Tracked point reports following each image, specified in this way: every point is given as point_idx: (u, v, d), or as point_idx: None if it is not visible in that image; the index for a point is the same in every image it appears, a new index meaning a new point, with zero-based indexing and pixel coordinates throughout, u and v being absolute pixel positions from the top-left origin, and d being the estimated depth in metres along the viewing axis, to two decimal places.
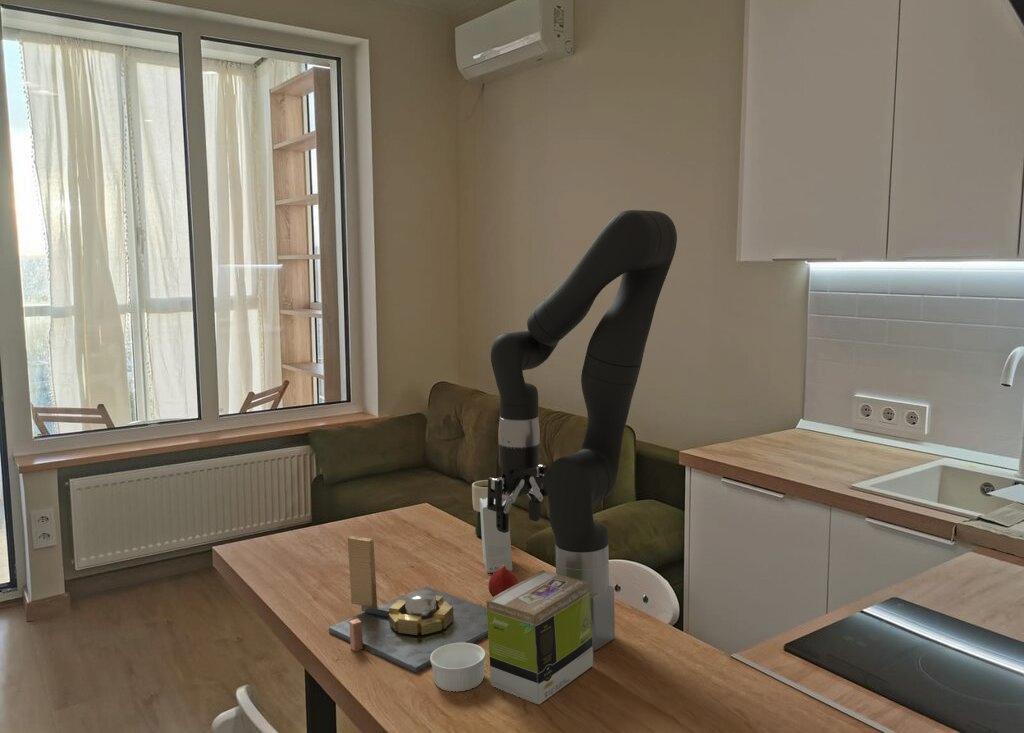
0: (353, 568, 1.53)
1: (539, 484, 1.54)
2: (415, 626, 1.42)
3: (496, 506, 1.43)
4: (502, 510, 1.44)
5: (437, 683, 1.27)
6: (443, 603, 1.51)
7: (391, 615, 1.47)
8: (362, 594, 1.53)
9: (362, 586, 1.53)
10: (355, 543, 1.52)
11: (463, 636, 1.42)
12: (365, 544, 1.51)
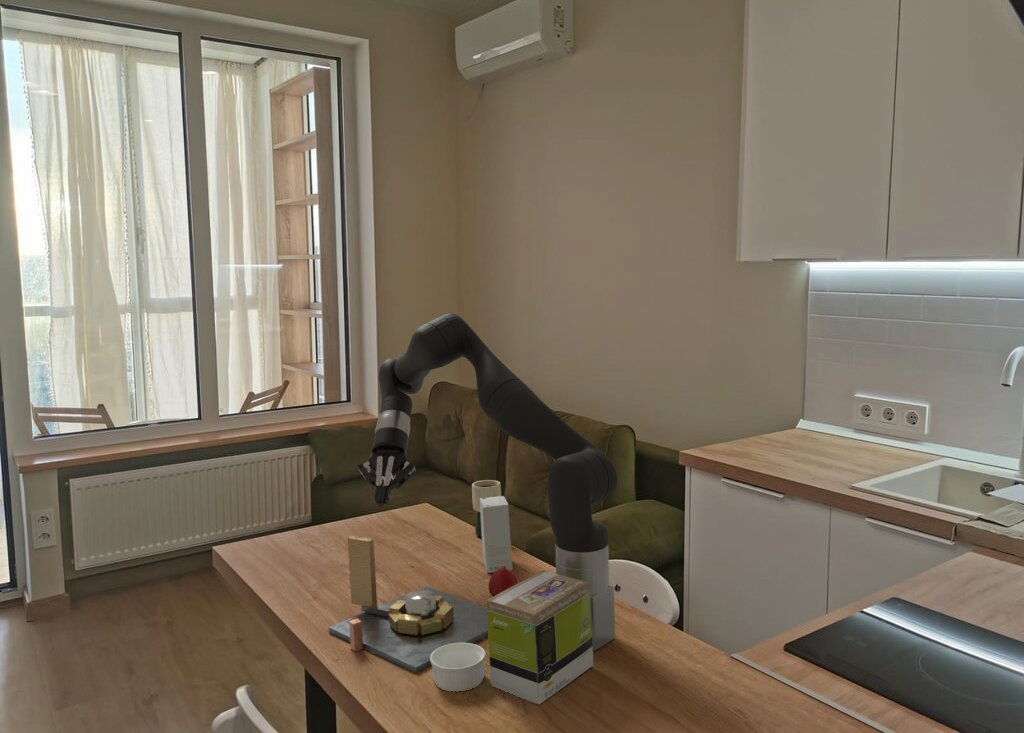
0: (353, 568, 1.53)
1: None
2: (415, 626, 1.42)
3: None
4: None
5: (437, 683, 1.27)
6: (443, 603, 1.51)
7: (391, 615, 1.47)
8: (362, 594, 1.53)
9: (362, 586, 1.53)
10: (355, 543, 1.52)
11: (463, 636, 1.42)
12: (365, 544, 1.51)
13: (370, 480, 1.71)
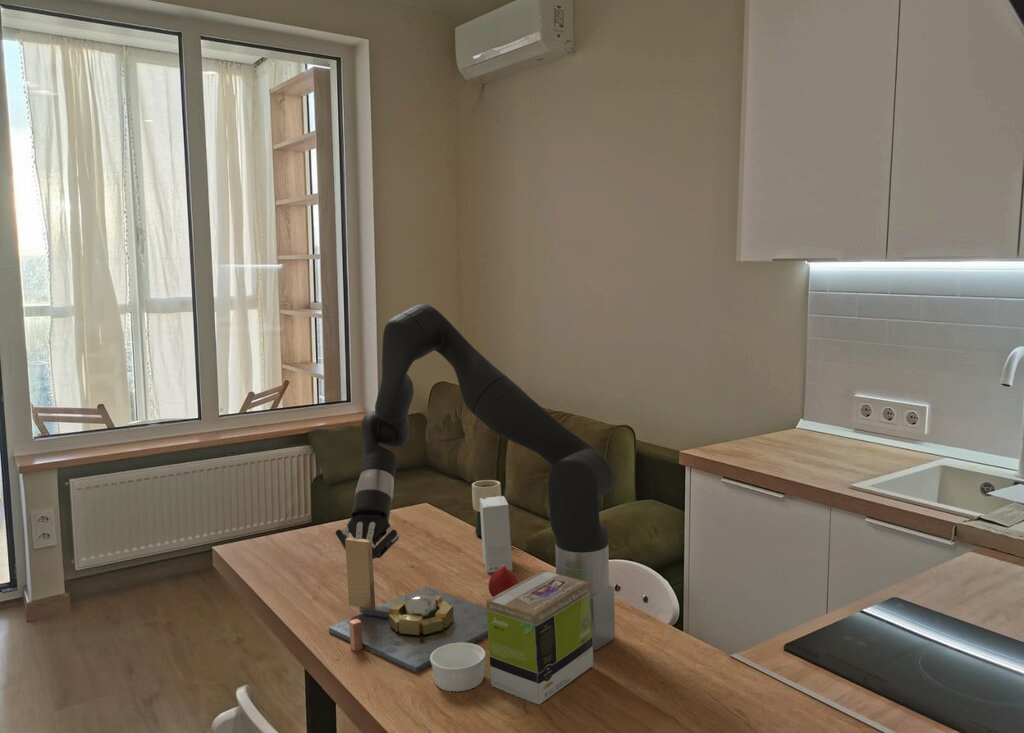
0: (351, 569, 1.53)
1: None
2: (417, 626, 1.42)
3: None
4: (372, 557, 1.58)
5: (437, 683, 1.27)
6: (442, 602, 1.51)
7: (391, 616, 1.46)
8: (360, 595, 1.52)
9: (360, 587, 1.52)
10: (353, 544, 1.52)
11: (463, 636, 1.42)
12: (363, 545, 1.51)
13: None
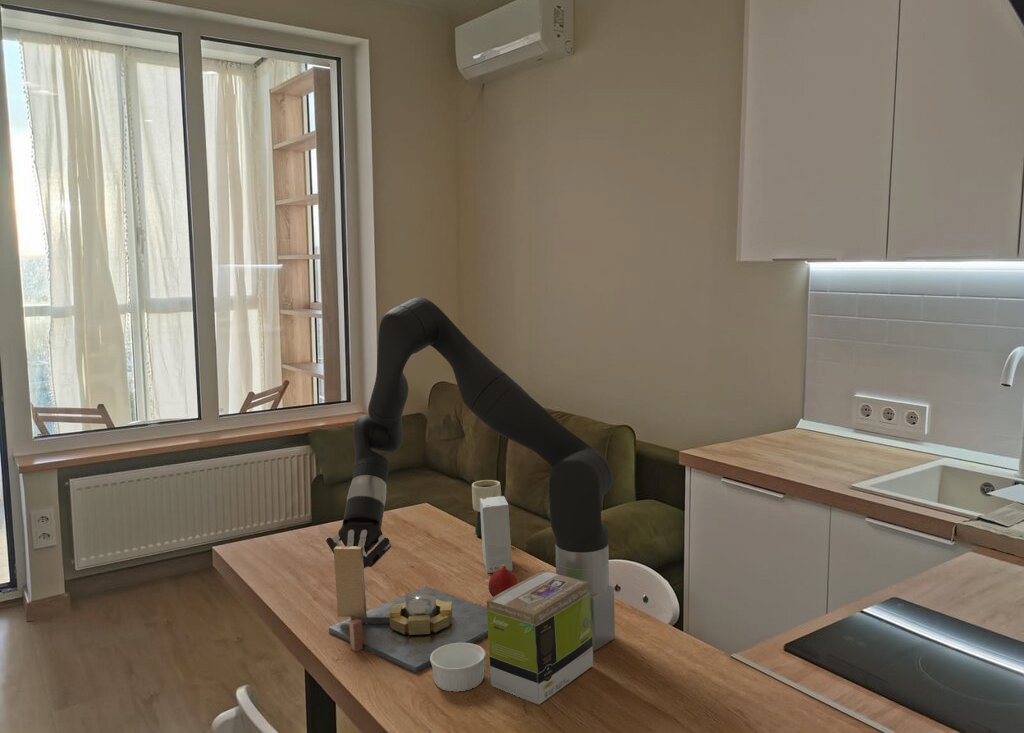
0: (340, 579, 1.48)
1: None
2: (428, 625, 1.43)
3: None
4: None
5: (437, 683, 1.27)
6: (436, 600, 1.53)
7: (395, 619, 1.45)
8: (351, 605, 1.48)
9: (351, 596, 1.48)
10: (343, 553, 1.47)
11: (463, 636, 1.42)
12: (356, 552, 1.47)
13: None
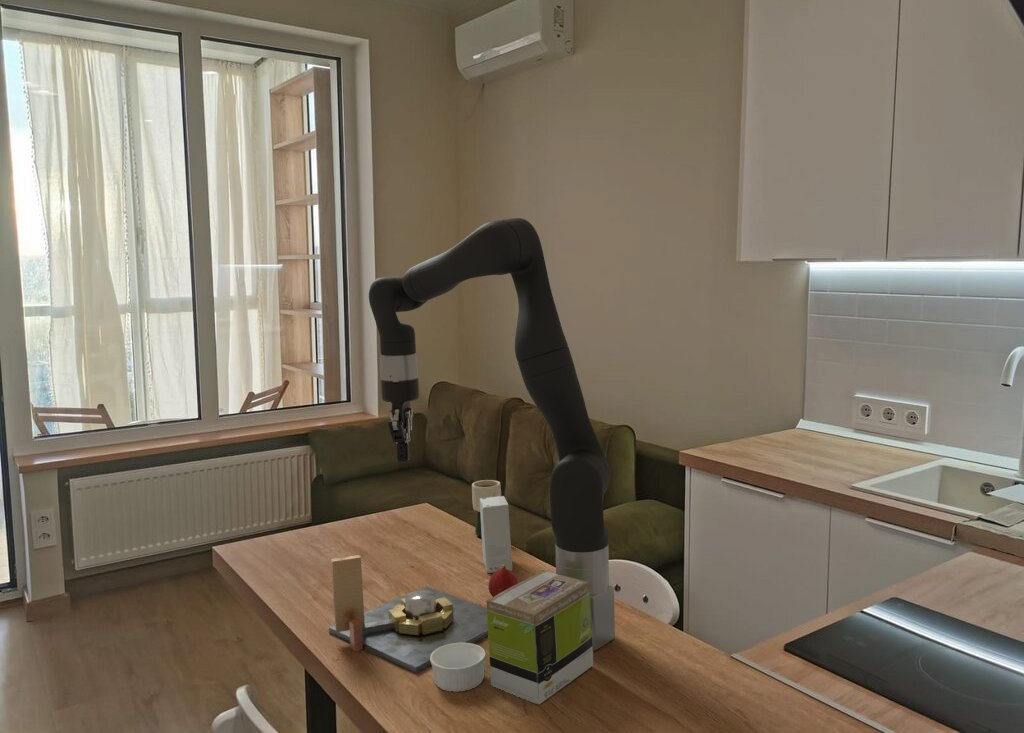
0: (339, 592, 1.42)
1: None
2: (440, 621, 1.44)
3: None
4: None
5: (437, 683, 1.27)
6: None
7: (403, 623, 1.43)
8: (351, 617, 1.43)
9: (351, 608, 1.43)
10: (342, 564, 1.41)
11: (463, 636, 1.42)
12: (356, 562, 1.42)
13: (405, 438, 1.60)
